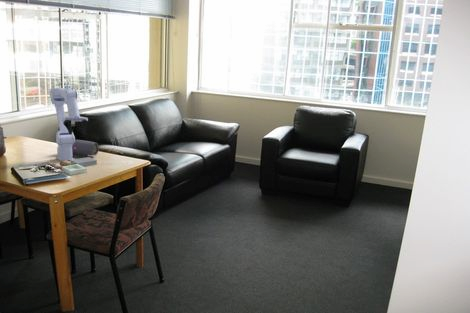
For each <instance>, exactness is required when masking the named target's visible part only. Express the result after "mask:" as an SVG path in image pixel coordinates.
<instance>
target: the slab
mask: <svg viewBox="0 0 470 313" xmlns="http://www.w3.org/2000/svg"><path fill="white" fill-rule="evenodd" d="M69 162H70V163H71V165H75V164H78V165H81V166H83V167H89V166H95V165H97V164H98V163H97V162H98V160H97V159H95V158H92V157H91V156H86V157H81V158H75V159H74V160H70V161H69Z"/></svg>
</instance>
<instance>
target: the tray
mask: <svg viewBox="0 0 470 313" xmlns="http://www.w3.org/2000/svg"><path fill="white" fill-rule="evenodd" d="M62 170H63V171H64V172H63V171H62ZM87 170H88V168H87V167H86V166H84V167H83V166H81V165H78V164H75V165H69V166H63V167H62V166H61V171H62V172H63V173H66V174H68V175H70V176H73V175H79V174H83V173H87Z"/></svg>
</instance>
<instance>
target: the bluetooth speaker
mask: <svg viewBox="0 0 470 313" xmlns="http://www.w3.org/2000/svg"><path fill="white" fill-rule="evenodd" d="M99 149H100V147H99V144H98V142H94V141H89V140H83V139H75V143H74V144H73V145H72V154H73V156H75V157H77V156H78V157H82V158H86V157H88V156H89V157H91V156H97V155H98V153H99Z"/></svg>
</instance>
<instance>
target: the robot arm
mask: <svg viewBox="0 0 470 313" xmlns="http://www.w3.org/2000/svg"><path fill="white" fill-rule="evenodd" d="M49 99H50V102H51V104H52V105H54V107H55V111H56V116H57V123H58V128H59V130H58V131H56V135H55V140H56V144H57V148H56V151H57V157H56V160H59V161H61V160H65V161H68V162H70V160H74V159H76V158H75V157H73V156H74V155H73V154H72V145H73V144H74V143H75V140H76V137H75V135H74V132H73V128H72V127H73V126H72V122H79V126H80V129H81V134H82V135H85V134H86V128H87V124H88V121H89V118H88V117H84V116H80V109H79V105H78V92H77V90H76V89H71V88H69V87H61V88H60V87H58V88H55V87H54V88H50V89H49ZM65 104H66V108H67V113H68V116H67V115H66V113H65V112H66V111H65V106H64V105H65Z"/></svg>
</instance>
